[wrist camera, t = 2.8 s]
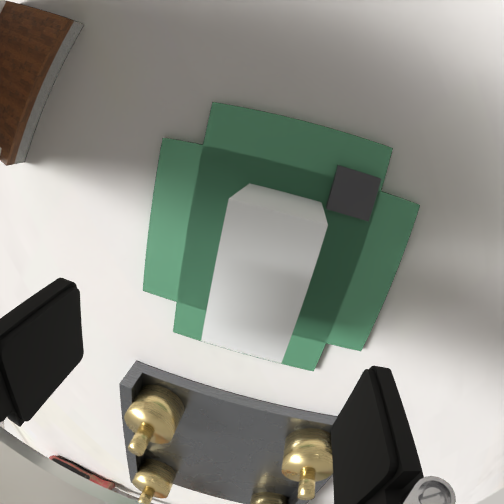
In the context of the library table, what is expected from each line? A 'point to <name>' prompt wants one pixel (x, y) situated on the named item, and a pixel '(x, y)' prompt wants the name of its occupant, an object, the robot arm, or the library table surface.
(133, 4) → the library table surface
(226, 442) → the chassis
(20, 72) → the tall white box
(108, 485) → the screwdriver
